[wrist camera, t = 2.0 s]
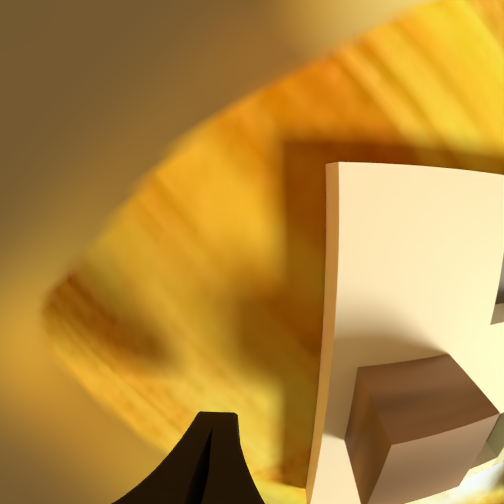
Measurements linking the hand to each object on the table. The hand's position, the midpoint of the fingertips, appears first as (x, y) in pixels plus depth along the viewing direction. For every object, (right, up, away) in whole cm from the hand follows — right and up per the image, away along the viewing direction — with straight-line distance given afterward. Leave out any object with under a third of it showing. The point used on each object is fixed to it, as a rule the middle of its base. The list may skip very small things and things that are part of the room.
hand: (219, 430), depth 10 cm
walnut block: (+7, 0, +1) cm, 7 cm away
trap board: (+14, +1, +2) cm, 14 cm away
